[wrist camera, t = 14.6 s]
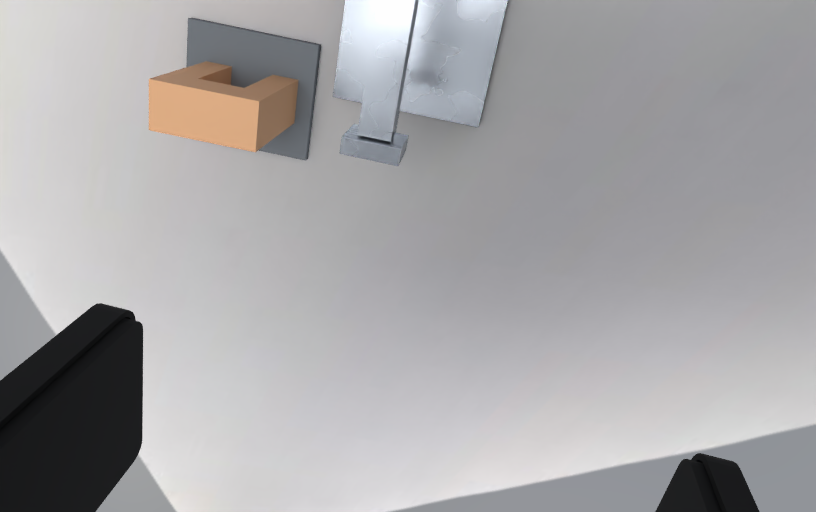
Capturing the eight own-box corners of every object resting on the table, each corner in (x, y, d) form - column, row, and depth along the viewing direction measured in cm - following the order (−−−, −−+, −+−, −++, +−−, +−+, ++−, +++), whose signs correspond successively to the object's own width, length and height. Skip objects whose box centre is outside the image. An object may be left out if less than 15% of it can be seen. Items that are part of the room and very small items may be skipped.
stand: (523, -70, 39) (539, -94, 25) (478, 123, 44) (471, 194, 30) (362, -102, 39) (289, -144, 25) (336, 93, 44) (263, 150, 30)
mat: (321, 44, 43) (318, 45, 42) (307, 158, 46) (305, 160, 46) (192, 17, 43) (188, 18, 43) (187, 132, 47) (184, 134, 46)
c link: (298, 79, 43) (259, 101, 36) (294, 123, 45) (255, 152, 37) (206, 61, 44) (148, 78, 36) (204, 104, 45) (148, 130, 38)
